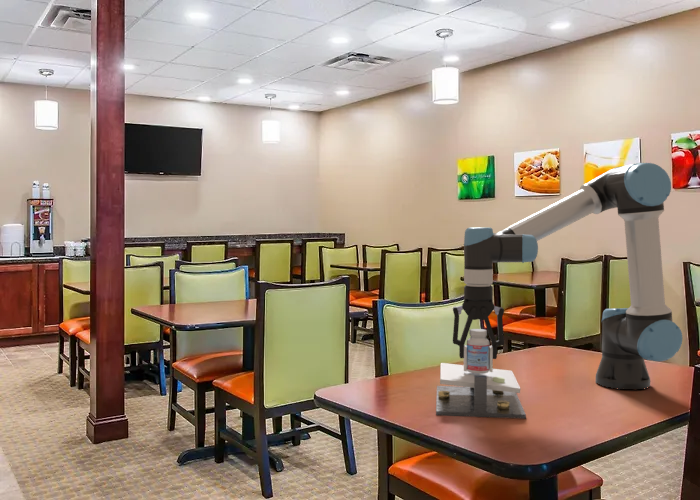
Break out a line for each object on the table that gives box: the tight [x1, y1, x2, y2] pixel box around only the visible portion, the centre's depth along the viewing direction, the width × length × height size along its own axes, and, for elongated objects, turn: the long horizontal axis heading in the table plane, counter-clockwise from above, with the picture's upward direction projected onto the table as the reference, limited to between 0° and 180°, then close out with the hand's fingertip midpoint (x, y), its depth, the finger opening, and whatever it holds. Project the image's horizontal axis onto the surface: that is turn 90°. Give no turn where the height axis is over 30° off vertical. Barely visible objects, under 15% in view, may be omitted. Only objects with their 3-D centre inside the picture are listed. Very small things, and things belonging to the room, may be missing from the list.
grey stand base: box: [435, 376, 527, 419], centre depth 173 cm, size 22×26×10 cm
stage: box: [439, 362, 521, 394], centre depth 173 cm, size 20×22×2 cm
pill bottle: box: [466, 328, 491, 374], centre depth 172 cm, size 6×6×11 cm
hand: (477, 370), depth 173 cm, fingers closed on pill bottle, 6 cm apart
